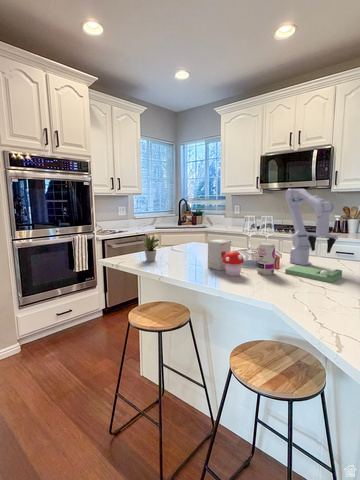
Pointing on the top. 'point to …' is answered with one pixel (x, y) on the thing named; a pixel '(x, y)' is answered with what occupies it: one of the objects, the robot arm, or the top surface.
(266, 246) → the supplement can
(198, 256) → the top surface
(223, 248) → the supplement box
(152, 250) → the house plant
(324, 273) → the ball
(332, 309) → the top surface
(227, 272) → the mushroom
